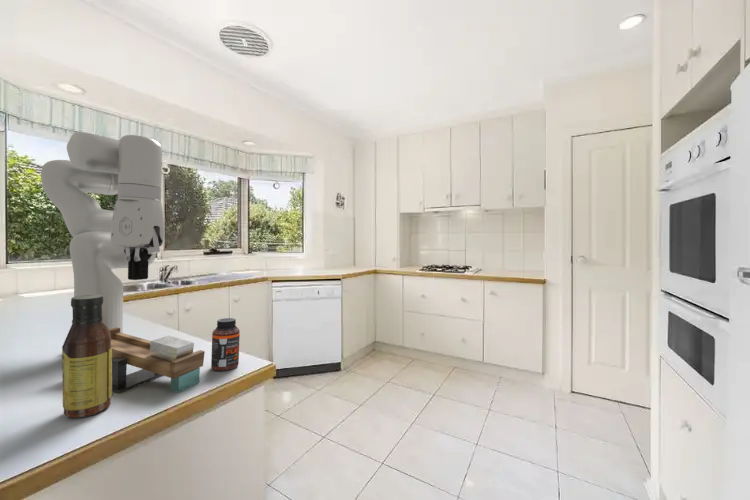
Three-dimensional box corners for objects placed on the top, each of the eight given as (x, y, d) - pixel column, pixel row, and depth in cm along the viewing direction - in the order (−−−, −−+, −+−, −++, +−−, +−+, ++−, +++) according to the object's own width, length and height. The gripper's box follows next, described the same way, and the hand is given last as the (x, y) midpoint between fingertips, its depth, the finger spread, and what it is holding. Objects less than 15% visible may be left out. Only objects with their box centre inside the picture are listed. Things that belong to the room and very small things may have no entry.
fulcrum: (61, 381, 64) (61, 353, 64) (126, 360, 77) (127, 336, 77) (159, 401, 57) (159, 370, 57) (214, 374, 70) (214, 348, 70)
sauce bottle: (84, 401, 56) (86, 292, 56) (120, 401, 57) (122, 293, 57) (49, 422, 50) (51, 298, 50) (91, 421, 50) (93, 299, 50)
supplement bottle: (227, 373, 71) (229, 323, 71) (205, 370, 72) (206, 321, 72) (244, 363, 77) (245, 317, 76) (222, 361, 78) (223, 316, 78)
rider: (148, 360, 64) (150, 340, 64) (166, 353, 68) (168, 335, 67) (175, 368, 62) (177, 348, 62) (192, 361, 66) (194, 342, 66)
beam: (77, 360, 67) (79, 335, 67) (116, 349, 74) (118, 326, 74) (170, 391, 60) (173, 363, 60) (203, 376, 67) (206, 350, 67)
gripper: (96, 193, 66) (94, 278, 67) (148, 191, 62) (146, 283, 62) (132, 198, 74) (131, 275, 74) (181, 197, 69) (179, 279, 69)
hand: (138, 279), depth 68 cm, fingers closed
